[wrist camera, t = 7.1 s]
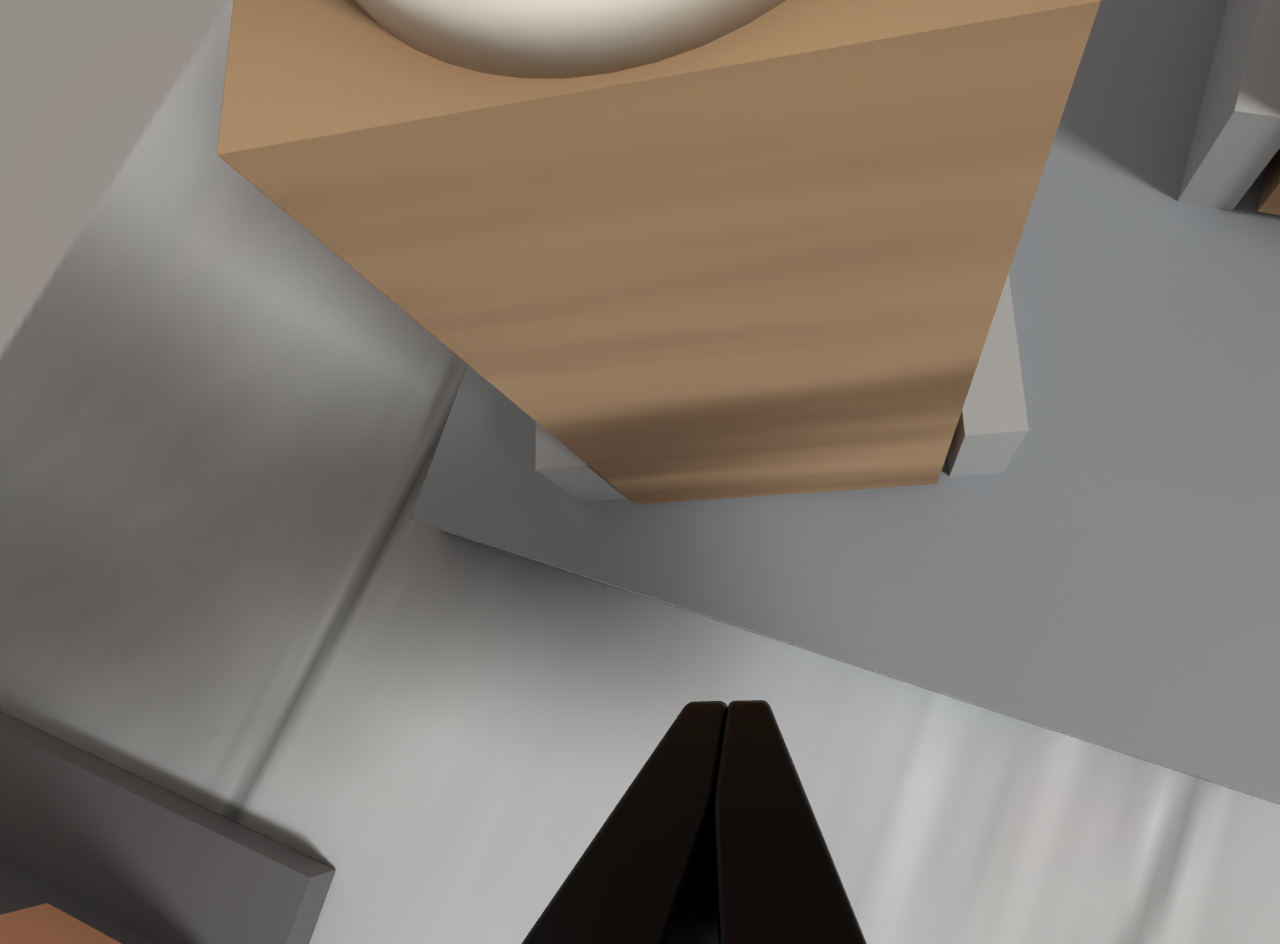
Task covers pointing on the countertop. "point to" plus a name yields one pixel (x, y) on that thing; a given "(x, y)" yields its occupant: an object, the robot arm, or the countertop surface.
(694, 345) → the plunger
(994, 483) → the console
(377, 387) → the countertop surface
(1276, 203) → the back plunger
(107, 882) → the pattern card
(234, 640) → the countertop surface
